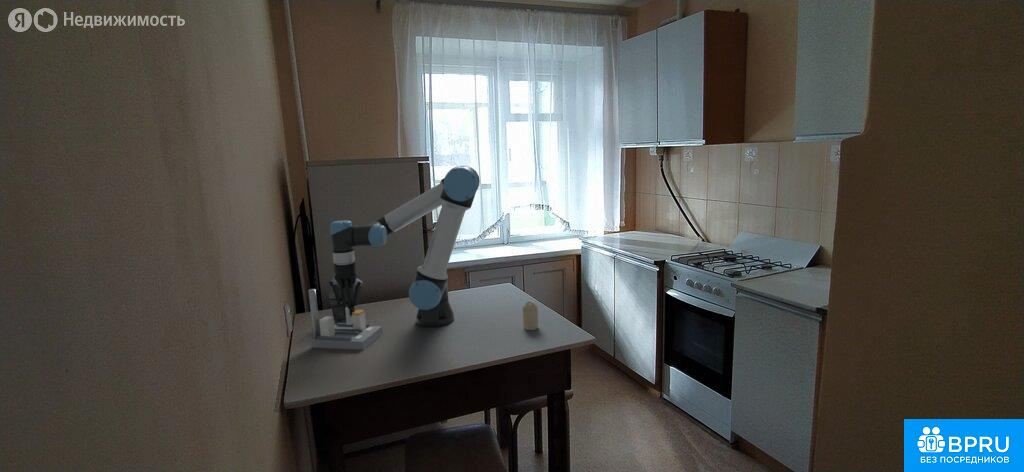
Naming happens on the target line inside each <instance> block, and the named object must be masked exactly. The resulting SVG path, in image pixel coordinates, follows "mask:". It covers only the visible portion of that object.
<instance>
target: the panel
mask: <svg viewBox="0 0 1024 472" xmlns="http://www.w3.org/2000/svg"><path fill="white" fill-rule="evenodd" d="M334 329H335V335H333V336H332V337H330V336H318V337H317V339H314V338H312V339H311V345H312V346H311V347H312V349H336V350H357V351H358V350H363V351H364V350H366V348H368V347H369V346H370V345H371V344H372V343H374V342H375V341H376V340H377V339H378V338H380V337H381V336H382V335H383V334H384V330H383V329H384V328H383V326H382V325H370V323H366V328H364V329H363V330H362V329H353V323H352V324H351V325H347V323H337V325H335V324H334ZM379 336H380V337H379Z"/></svg>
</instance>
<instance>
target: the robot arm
mask: <svg viewBox="0 0 1024 472" xmlns="http://www.w3.org/2000/svg"><path fill="white" fill-rule="evenodd" d="M479 187H480V175H479V173H478V172H477V171H476V170H475V168H473V167H472V166H468V165H459V166H454V167H453V168H451V169H450V170H449V171H448V172H447V173H446V174H445V176H444V177H443V178H442V179H441V180H440V182H439V184H437V185H435V186H433V187H432V188H430V189H428V190H426V191H425V192H423V193H421V194H420V195H417V196H416V197H414V198H413V199H411V200H409V201H407V202H406V203H404V204H402V205H400V206H399V207H397V208H395V209H393V210H392V211H390V212H388V213H387V214H385V215H383V216H381V217H380V218H378V219H376V220H374V221H373V222H371V223H369V224H366V225H353V224H352V221H351V220H347V219H345V220H335V221H332V222H331V224H330V225H329V226H330V227H329V228H330V239H331V240H330V241H331V247H332V248H331V250H332V261H333V263H334V264H333V271H334V275H335V276H334V280H333V279H332V280H331V281H329V282H328V283H329V286H330V287H331V288H332V289H333V292H334V295H335V298H336V301H337V304H338V306H342V307H343V310H344V315H346V322H347V325H351V324H352V323H353V320H352V313H353V312H355V311H356V310H355V307H356V306H358V305H359V304H360V299H361V291H362V286H363V284H364V280H362V279H359V278H358V276H357V267H356V262H355V261H356V258H355V257H356V256H355V247H378V246H379V247H380V246H384V245H386V244H387V240H388V237H389V236H390V235H392V234H394V233H396V232H397V231H399V230H401V229H403V228H405V227H406V226H407V225H408V226H409V225H410V224H412V223H413V222H415V221H417V220H418V219H420V218H422V217H424V216H425V215H428V214H429V213H431V212H433V211H434V210H436V209H438V208H440V207H441V208H440V211H439V214H438V217H437V221H436V224H435V226H434V230H433V232H432V235H431V239H430V242H429V245H428V248H427V251H426V254H425V258H424V260H423V261H424V262H423V264H422V265H420V266H417V268H416V273H415V274H414V275H415V276H414V279H413V282H412V284H411V285H410V287H409V290H408V298H409V301H410V303H411V305H413V306H414V307H415V308H416V309H417V312H416V318H415V319H416V320H415V321H416V324H417V325H418V326H421V327H426V328H434V327H442V326H446V325H449V324H451V323H452V322H454V321H455V314H454V311H453V308H452V306H451V303H450V301H449V300H450V299H449V288H448V287H449V286H448V278H449V276H448V271H447V269H448V266H449V262H450V259H451V256H452V252H453V250H454V248H455V244H456V240H457V238H458V235H459V232H460V229H461V225H462V223H463V219H464V216H465V213H466V212H467V211H468V210H470V209H471V208H472V205H473V202H474V199H475V197H476V193H477V191H478V189H479ZM354 285H355V286H354ZM339 287H340V288H339ZM340 290H341V291H340Z"/></svg>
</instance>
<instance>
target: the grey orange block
mask: <svg viewBox="0 0 1024 472" xmlns="http://www.w3.org/2000/svg"><path fill="white" fill-rule="evenodd" d="M366 319H367V318H366V312H365V309H356V310H355V312H353V313H352V320H353V329H362V330H363V329H364V328H366V324H367V321H366Z"/></svg>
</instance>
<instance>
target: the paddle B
mask: <svg viewBox="0 0 1024 472" xmlns="http://www.w3.org/2000/svg"><path fill="white" fill-rule="evenodd" d="M319 322H320V331H321V336H330V337H332V336H333V335H335V329H334V325H335V322H334V318H333V316H327V315H326V316H324V317H322V318H319Z"/></svg>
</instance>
